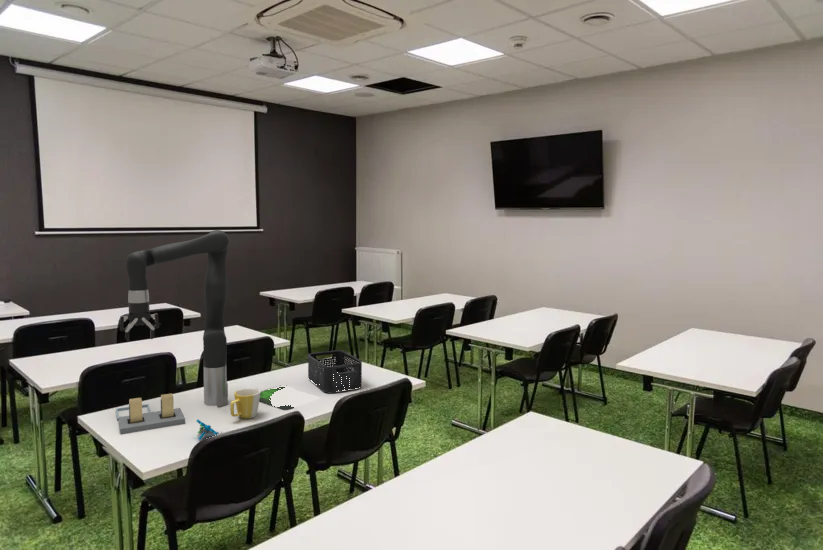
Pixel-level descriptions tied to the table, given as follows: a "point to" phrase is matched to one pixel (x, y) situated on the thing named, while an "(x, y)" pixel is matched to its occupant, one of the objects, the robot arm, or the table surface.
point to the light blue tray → (128, 409)
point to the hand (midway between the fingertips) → (140, 339)
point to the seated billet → (167, 406)
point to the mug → (246, 403)
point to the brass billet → (135, 410)
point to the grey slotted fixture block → (151, 421)
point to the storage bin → (335, 371)
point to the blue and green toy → (204, 429)
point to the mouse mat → (266, 396)
